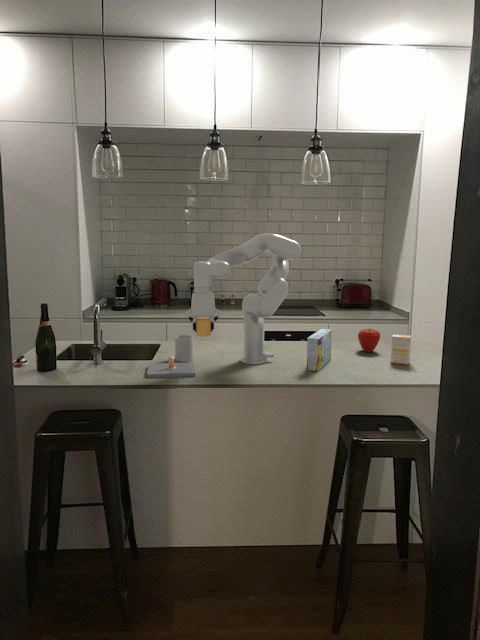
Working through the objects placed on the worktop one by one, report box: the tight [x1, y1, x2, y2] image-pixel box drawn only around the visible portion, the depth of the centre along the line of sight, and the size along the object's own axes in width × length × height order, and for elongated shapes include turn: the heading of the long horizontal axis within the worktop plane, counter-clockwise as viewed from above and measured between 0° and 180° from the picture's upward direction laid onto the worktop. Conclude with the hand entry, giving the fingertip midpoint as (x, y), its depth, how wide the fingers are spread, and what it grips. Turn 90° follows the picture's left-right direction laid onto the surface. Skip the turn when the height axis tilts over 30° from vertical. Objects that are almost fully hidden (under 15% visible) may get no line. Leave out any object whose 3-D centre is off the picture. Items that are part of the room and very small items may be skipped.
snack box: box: [306, 328, 332, 372], centre depth 227 cm, size 21×6×15 cm, turn 154°
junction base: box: [146, 355, 196, 379], centre depth 216 cm, size 20×16×6 cm
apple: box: [357, 328, 381, 353], centre depth 253 cm, size 11×11×12 cm
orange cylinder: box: [195, 317, 212, 337], centre depth 217 cm, size 6×6×7 cm
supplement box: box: [390, 333, 412, 366], centre depth 232 cm, size 8×5×13 cm, turn 65°
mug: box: [174, 334, 194, 363], centre depth 236 cm, size 12×8×11 cm
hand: (203, 330), depth 217 cm, fingers closed on orange cylinder, 6 cm apart
